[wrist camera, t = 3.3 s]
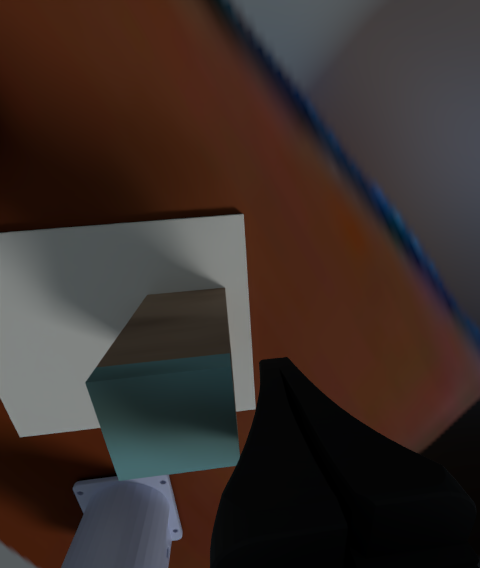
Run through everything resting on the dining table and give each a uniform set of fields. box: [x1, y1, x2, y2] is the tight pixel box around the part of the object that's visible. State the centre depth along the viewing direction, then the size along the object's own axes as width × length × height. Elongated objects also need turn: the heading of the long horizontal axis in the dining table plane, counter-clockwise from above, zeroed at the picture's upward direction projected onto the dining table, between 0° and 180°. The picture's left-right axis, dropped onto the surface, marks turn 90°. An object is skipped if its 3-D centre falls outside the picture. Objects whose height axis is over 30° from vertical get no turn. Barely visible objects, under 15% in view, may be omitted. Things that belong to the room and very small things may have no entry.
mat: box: [0, 214, 256, 437], centre depth 17 cm, size 15×18×1 cm
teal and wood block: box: [85, 288, 240, 481], centre depth 13 cm, size 5×5×8 cm
